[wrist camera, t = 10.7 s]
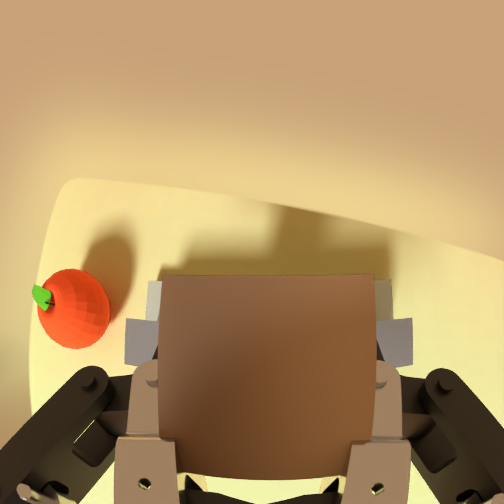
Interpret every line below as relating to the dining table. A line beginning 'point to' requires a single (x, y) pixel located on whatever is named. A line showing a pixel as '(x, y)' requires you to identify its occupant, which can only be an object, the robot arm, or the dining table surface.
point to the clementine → (72, 308)
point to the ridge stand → (387, 329)
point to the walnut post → (266, 372)
